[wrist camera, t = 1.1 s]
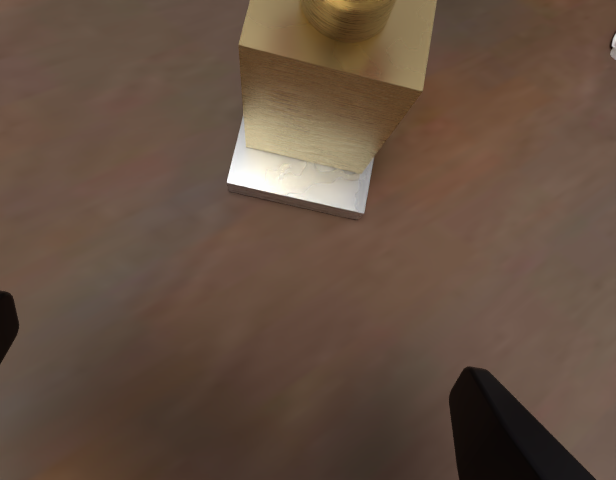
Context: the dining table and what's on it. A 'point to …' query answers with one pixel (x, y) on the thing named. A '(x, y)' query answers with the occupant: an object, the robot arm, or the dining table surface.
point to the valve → (331, 75)
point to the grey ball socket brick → (297, 181)
